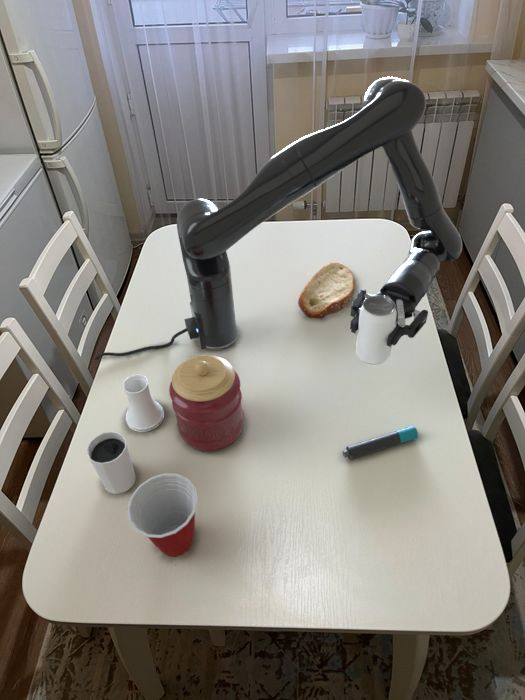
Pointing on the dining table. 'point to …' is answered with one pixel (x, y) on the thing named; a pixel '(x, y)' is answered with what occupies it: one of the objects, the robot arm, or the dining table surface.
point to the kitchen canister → (207, 402)
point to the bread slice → (327, 291)
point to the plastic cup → (165, 512)
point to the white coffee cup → (112, 461)
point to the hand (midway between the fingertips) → (370, 335)
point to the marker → (381, 442)
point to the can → (375, 329)
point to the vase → (141, 405)
